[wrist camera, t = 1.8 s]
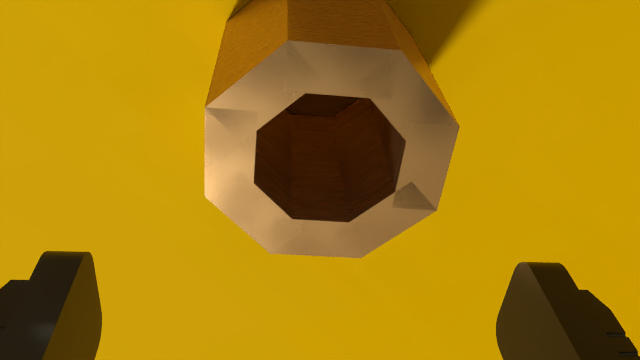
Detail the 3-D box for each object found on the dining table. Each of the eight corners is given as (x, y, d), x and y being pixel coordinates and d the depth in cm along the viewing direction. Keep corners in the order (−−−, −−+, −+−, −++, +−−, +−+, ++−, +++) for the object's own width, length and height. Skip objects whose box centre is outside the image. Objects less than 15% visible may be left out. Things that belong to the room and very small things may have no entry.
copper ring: (424, -17, 18) (478, 56, 13) (390, 151, 21) (423, 261, 16) (227, -36, 17) (204, 32, 12) (223, 139, 21) (204, 250, 16)
